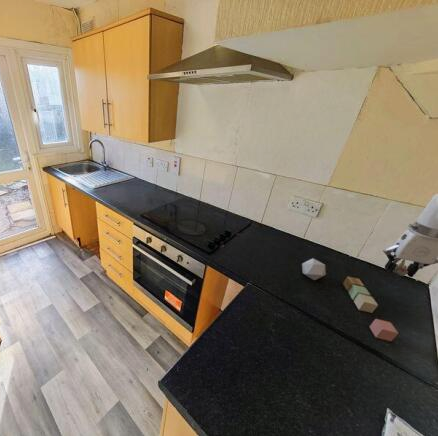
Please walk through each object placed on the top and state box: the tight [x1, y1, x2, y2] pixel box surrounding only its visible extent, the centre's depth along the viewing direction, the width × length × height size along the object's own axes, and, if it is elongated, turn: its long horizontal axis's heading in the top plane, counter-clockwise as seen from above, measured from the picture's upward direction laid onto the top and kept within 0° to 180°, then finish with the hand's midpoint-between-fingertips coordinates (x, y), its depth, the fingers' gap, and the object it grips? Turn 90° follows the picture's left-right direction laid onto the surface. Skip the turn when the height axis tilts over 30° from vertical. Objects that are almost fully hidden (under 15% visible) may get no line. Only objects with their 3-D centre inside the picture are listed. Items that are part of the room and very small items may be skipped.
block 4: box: [369, 318, 399, 342], centre depth 78 cm, size 4×4×4 cm
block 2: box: [347, 285, 371, 301], centre depth 93 cm, size 4×4×4 cm
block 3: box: [353, 294, 379, 314], centre depth 89 cm, size 4×4×4 cm
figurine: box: [391, 259, 408, 277], centre depth 82 cm, size 5×4×6 cm
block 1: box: [342, 276, 365, 292], centre depth 98 cm, size 4×4×4 cm
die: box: [301, 257, 327, 281], centre depth 103 cm, size 8×9×10 cm
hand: (398, 272), depth 83 cm, fingers closed on figurine, 5 cm apart
